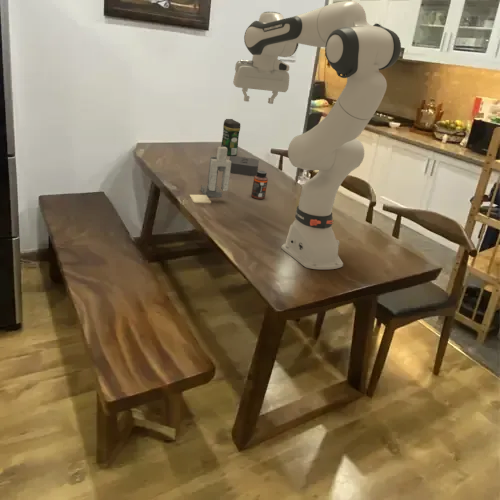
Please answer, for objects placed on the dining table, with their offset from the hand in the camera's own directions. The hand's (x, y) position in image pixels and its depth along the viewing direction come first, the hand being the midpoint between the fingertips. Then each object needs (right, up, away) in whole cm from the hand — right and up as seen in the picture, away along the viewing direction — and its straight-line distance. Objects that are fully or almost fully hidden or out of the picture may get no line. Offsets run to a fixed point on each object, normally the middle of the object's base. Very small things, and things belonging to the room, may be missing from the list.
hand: (258, 102), depth 178 cm
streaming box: (-7, -15, +65) cm, 67 cm away
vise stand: (-18, -32, +24) cm, 44 cm away
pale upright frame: (-16, -30, +17) cm, 38 cm away
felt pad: (-23, -34, +18) cm, 45 cm away
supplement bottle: (0, -32, +31) cm, 44 cm away
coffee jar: (-15, -1, +90) cm, 92 cm away
